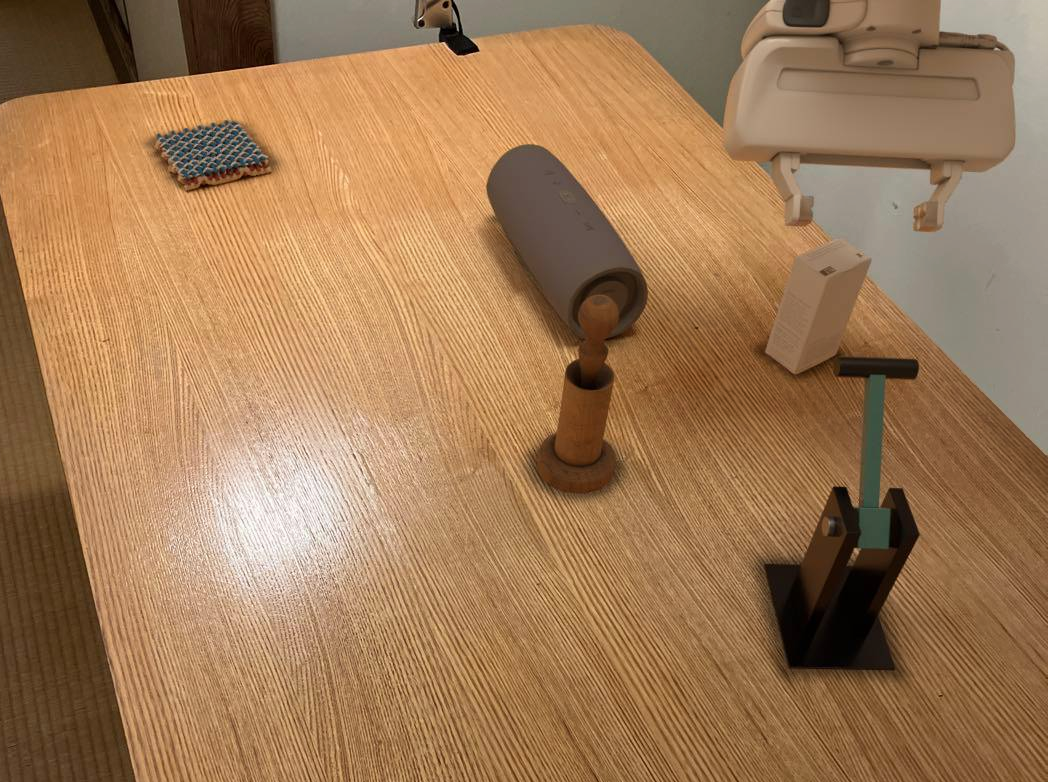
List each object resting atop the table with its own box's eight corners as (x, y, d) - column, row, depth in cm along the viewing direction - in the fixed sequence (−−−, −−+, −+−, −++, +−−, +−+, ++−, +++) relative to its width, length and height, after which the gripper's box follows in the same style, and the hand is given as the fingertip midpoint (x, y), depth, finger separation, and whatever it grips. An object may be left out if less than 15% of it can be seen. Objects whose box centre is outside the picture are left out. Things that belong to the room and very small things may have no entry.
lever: (830, 357, 75) (843, 354, 73) (907, 360, 75) (922, 357, 73) (821, 545, 76) (834, 548, 73) (897, 547, 76) (912, 549, 74)
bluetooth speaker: (645, 343, 105) (662, 254, 98) (557, 359, 102) (567, 269, 95) (559, 219, 119) (568, 133, 111) (479, 230, 116) (483, 144, 109)
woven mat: (184, 195, 117) (181, 178, 116) (153, 150, 123) (150, 133, 122) (274, 175, 121) (273, 158, 120) (240, 132, 127) (238, 115, 126)
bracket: (760, 573, 86) (803, 457, 76) (858, 575, 86) (912, 460, 77) (784, 676, 79) (834, 564, 70) (890, 678, 80) (954, 566, 70)
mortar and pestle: (572, 513, 89) (599, 338, 76) (520, 470, 92) (537, 294, 79) (628, 479, 92) (663, 305, 79) (576, 438, 95) (601, 263, 82)
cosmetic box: (802, 339, 107) (837, 232, 98) (836, 364, 105) (875, 256, 96) (759, 360, 104) (791, 252, 95) (793, 386, 102) (829, 278, 93)
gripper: (992, 53, 80) (982, 243, 80) (720, 38, 78) (712, 231, 79) (1040, 17, 73) (1028, 223, 74) (744, 0, 72) (736, 210, 73)
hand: (863, 227), depth 77 cm, fingers open, 8 cm apart
